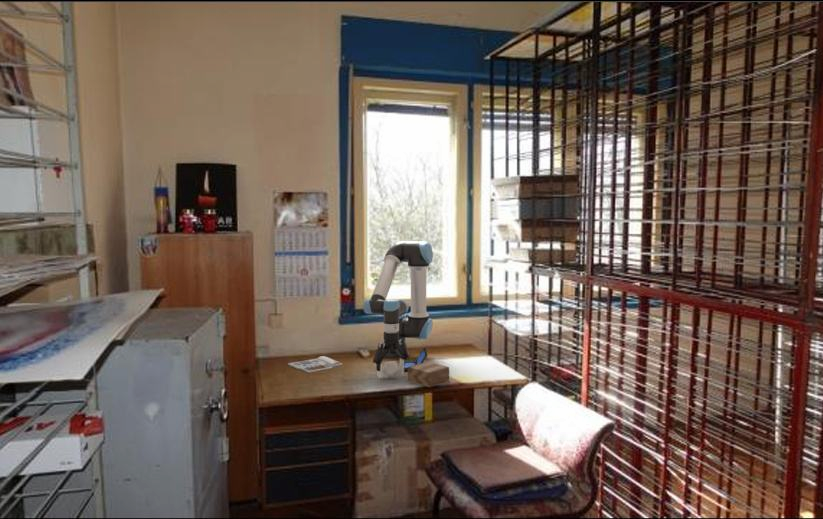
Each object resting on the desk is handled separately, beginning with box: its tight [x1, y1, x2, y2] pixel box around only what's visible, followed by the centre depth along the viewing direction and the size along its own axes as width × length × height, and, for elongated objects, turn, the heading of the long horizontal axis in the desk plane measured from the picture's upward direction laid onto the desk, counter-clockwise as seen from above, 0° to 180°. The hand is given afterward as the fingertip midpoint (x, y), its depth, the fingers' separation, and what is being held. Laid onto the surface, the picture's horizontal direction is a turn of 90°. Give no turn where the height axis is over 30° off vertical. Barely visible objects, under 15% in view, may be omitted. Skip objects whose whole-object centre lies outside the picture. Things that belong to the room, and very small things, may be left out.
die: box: [382, 360, 400, 380], centre depth 259 cm, size 8×9×10 cm
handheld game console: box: [404, 347, 428, 373], centre depth 277 cm, size 16×13×9 cm
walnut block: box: [407, 361, 450, 388], centre depth 255 cm, size 14×14×7 cm
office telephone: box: [287, 355, 343, 374], centre depth 280 cm, size 23×3×20 cm
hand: (390, 374), depth 260 cm, fingers open, 13 cm apart
